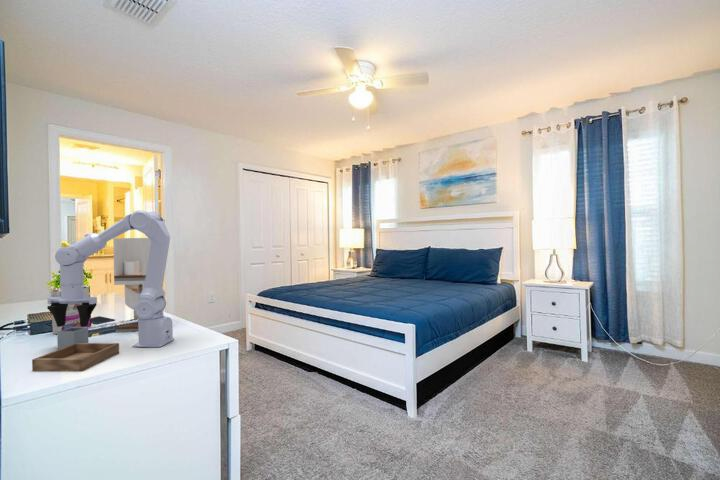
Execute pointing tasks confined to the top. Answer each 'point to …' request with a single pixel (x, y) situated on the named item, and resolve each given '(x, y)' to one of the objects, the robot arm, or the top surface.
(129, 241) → the display case
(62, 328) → the candy bar box
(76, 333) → the grey crate
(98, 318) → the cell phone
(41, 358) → the walnut crate
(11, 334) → the top surface
